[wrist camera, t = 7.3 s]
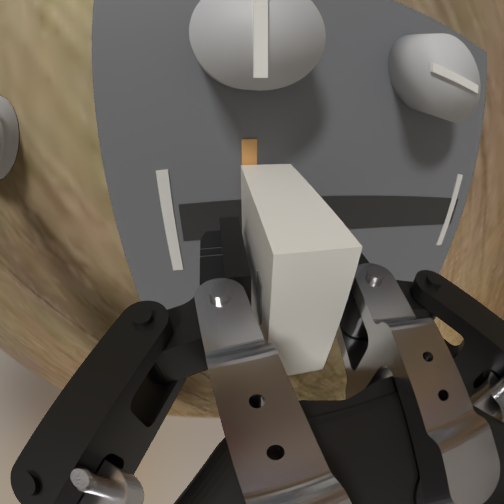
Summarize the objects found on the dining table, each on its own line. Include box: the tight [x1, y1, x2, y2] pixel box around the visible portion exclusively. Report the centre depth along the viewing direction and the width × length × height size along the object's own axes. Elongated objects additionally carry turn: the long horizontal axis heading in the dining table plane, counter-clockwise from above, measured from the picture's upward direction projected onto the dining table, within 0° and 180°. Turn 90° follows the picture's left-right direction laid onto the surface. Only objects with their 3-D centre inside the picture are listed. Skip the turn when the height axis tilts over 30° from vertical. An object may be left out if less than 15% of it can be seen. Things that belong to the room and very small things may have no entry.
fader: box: [241, 164, 362, 376], centre depth 9 cm, size 2×5×6 cm, turn 1°
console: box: [92, 0, 487, 310], centre depth 11 cm, size 20×18×4 cm
